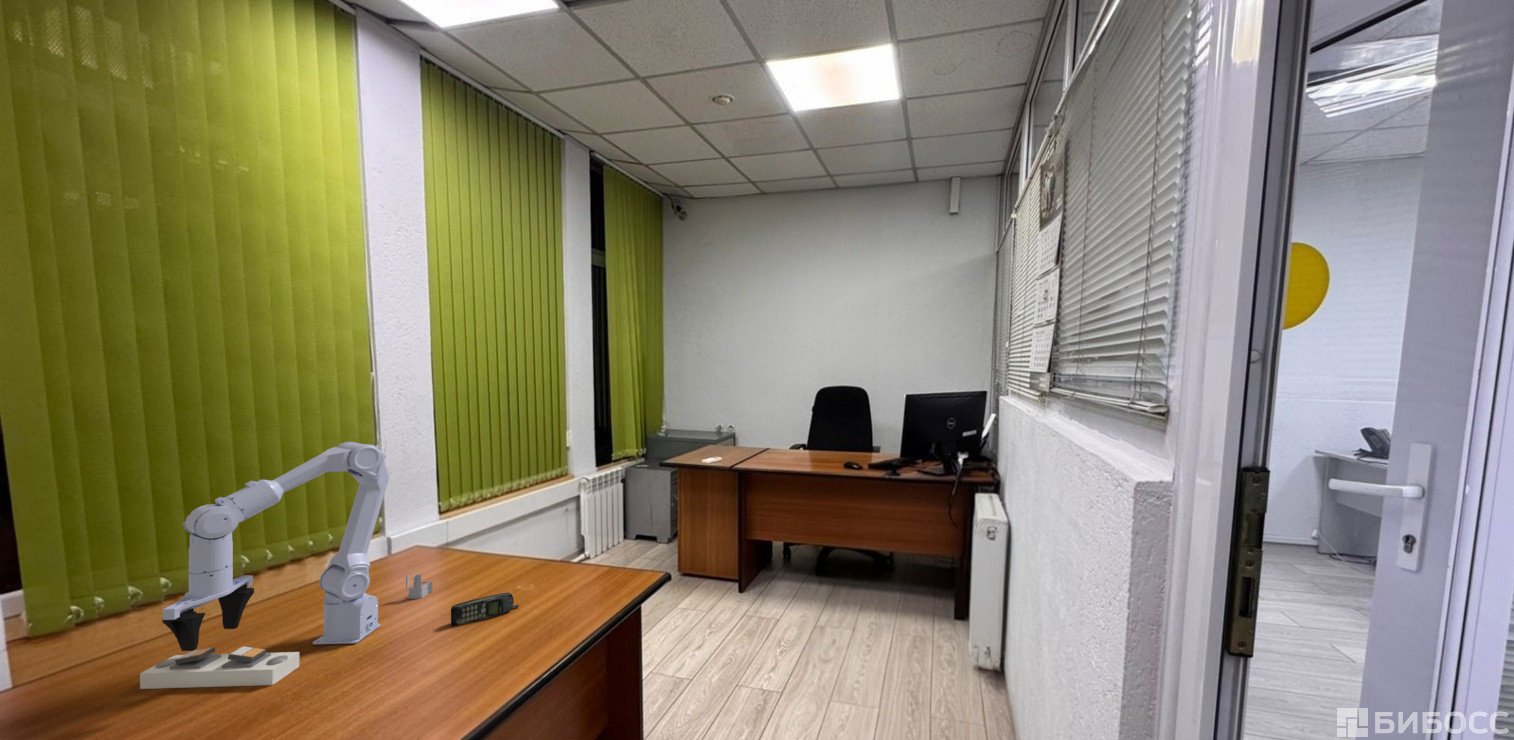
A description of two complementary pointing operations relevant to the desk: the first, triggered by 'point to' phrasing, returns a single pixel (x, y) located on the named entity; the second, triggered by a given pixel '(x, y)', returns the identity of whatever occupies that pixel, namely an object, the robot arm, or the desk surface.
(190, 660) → the rocker
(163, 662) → the rocker switch panel
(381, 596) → the desk surface
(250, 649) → the rocker
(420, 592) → the architectural model
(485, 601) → the mobile phone
